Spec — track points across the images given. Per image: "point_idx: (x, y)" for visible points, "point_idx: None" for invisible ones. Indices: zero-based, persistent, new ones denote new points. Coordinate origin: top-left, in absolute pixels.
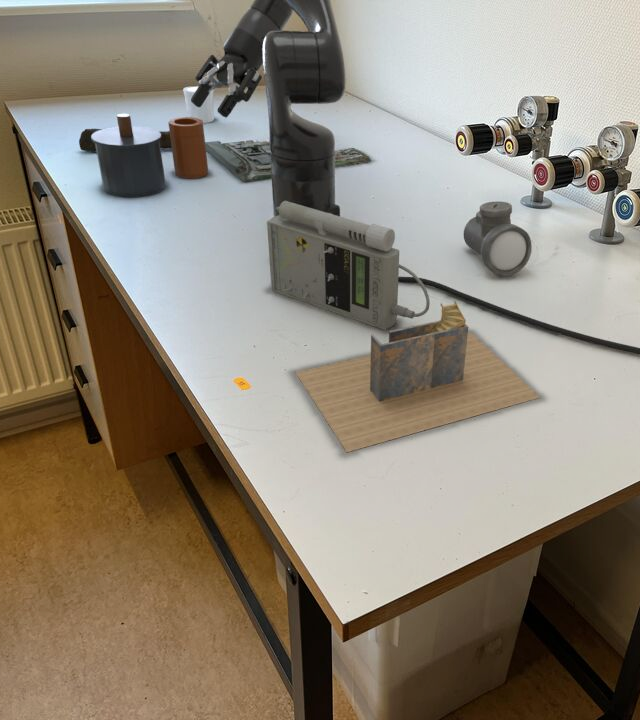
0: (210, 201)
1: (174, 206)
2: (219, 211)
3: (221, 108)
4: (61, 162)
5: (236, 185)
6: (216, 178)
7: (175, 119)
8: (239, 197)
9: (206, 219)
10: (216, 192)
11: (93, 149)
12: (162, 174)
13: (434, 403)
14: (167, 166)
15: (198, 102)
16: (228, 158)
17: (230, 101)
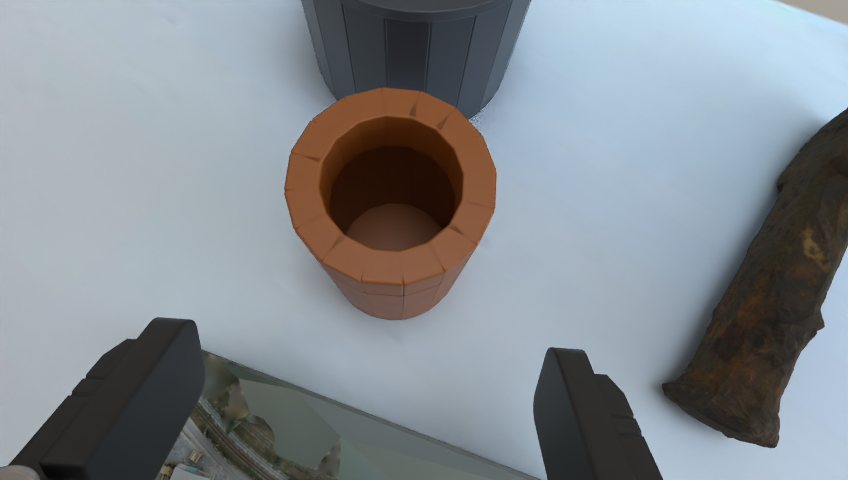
0: (128, 125)
1: (188, 29)
2: (41, 90)
3: (145, 339)
4: (757, 29)
5: (166, 292)
6: (283, 288)
7: (468, 163)
8: (70, 216)
9: (31, 27)
10: (173, 192)
11: (812, 141)
12: (327, 67)
13: None
14: (520, 241)
15: (544, 403)
16: (351, 432)
17: (45, 430)
